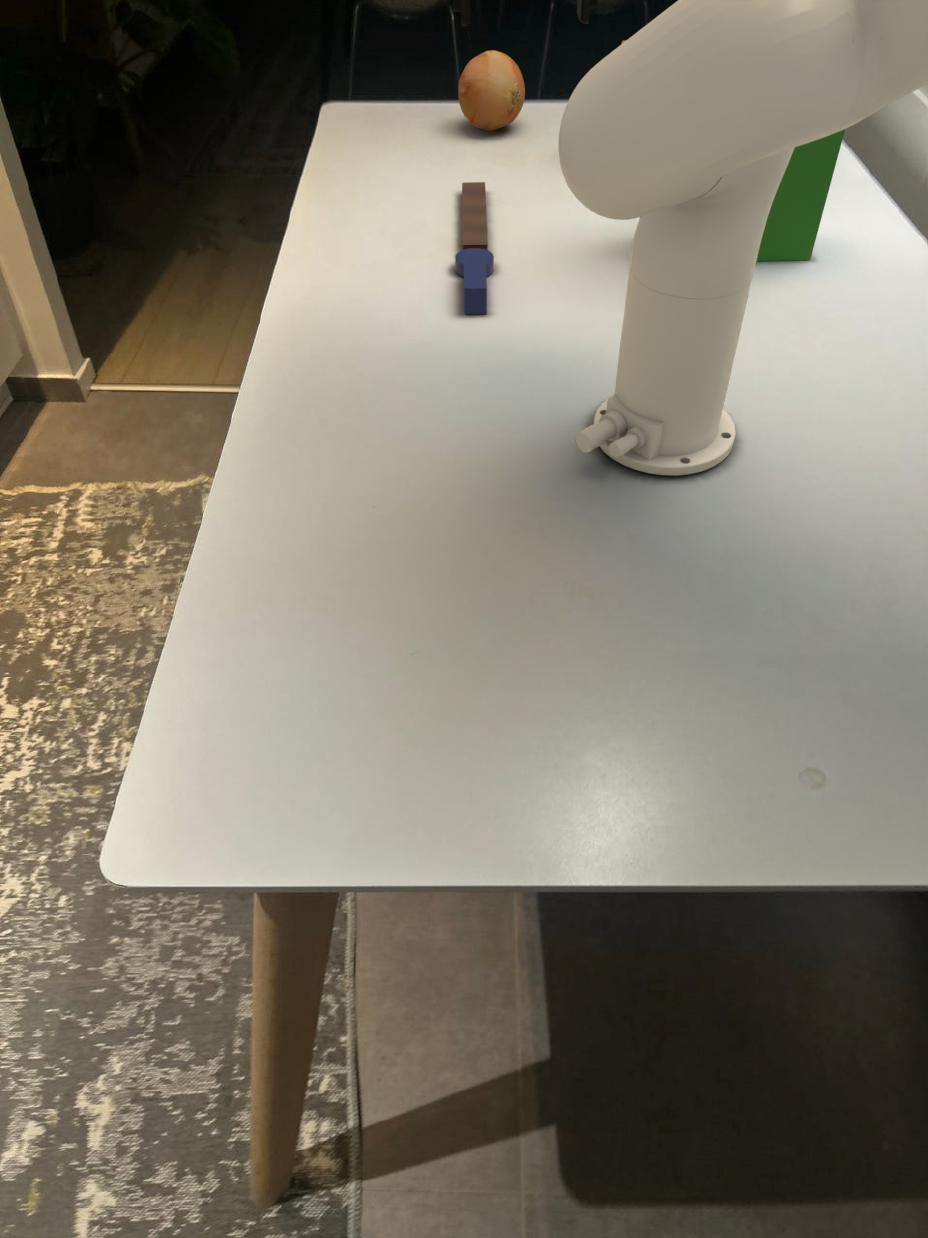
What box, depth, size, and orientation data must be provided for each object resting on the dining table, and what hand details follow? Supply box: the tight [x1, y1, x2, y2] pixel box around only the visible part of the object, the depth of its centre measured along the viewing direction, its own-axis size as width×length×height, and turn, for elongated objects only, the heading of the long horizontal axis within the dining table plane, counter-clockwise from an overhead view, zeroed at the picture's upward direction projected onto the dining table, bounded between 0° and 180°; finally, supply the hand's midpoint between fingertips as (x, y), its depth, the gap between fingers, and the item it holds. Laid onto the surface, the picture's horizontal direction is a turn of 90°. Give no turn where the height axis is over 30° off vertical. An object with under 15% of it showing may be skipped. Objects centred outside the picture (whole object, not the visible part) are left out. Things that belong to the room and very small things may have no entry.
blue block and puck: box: [454, 248, 495, 315], centre depth 102 cm, size 12×4×3 cm, turn 0°
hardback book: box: [756, 129, 846, 262], centre depth 100 cm, size 18×7×24 cm, turn 91°
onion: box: [457, 49, 526, 132], centre depth 133 cm, size 10×10×10 cm
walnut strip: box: [461, 181, 489, 251], centre depth 114 cm, size 18×3×2 cm, turn 0°
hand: (524, 20), depth 76 cm, fingers open, 9 cm apart
